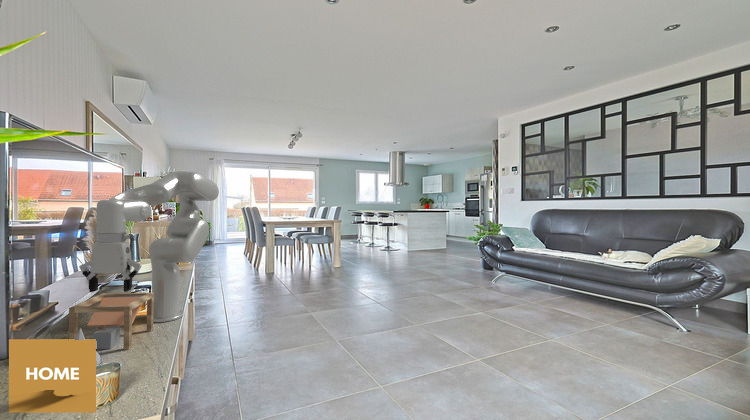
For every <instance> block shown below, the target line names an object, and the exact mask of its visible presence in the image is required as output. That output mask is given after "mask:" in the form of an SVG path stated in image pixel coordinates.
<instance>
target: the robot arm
mask: <svg viewBox="0 0 750 420" xmlns="http://www.w3.org/2000/svg"><path fill="white" fill-rule="evenodd" d="M219 194H220V190H219V187H218V185H217V184H216V182H214V181H213V180H211V179H210V178H208V177H206V176H205V175H204V174H201V173H199V172H197V171H181V170H180V171H173V172H169V173H168V174H166V175H164V176H162V177H161V178H159V179H157V180H155V181H153V182H151V183H149V184H145V185H142V186H139V187H135V188H132V189H128V190H125V191H123V192H120V193H118V194H116V195H115V196H112V197H111V198H109V199H101V200H99V201H98V202H96V227H95V228H96V232H95V233H96V235H95V236H96V237H95V238H96V239H95V241H96V242H93V243H94V244H93V246H92V250H91V255H90V260H89V261H87V262H85V263H82V264H80V265H79V269H80V272H81V273H82V275H83V276H84V277H86V280H87V281H88V290H89V293H94V292H96V291H98V290H99V278H98V275H118V274H119V275H122V276H123V278H125V279H124V280H123V293H128V292H130V291H131V290H132V287H133V278H135V276H136V275H137V274H138V273H139V271H140V270H141V268H142V264H140V263H138V262H136V261H134V260H132V258H133V257H132V251H131V247H130V242H129V241H127V240H130V238H131V235H130V234H127V232H126V231H127V222H134V223H135V222H143V221H145V220H147V219H148V218H149V217H151V214H152V207H151V206H157V205H163V204H165V203H168V202H169V201H170V200H171V199H173V198H175V197H176V196H177V197H178V200H179V209H178V210H177V212H176V214H175V215H174V217H173V219H172V220H171V222H170V223H169V225H168V226H167V228H166V235H167V237H159V238H157V239H154V240H153V241H152V242H151V243H150V245H149V247H148V248H149V249H148V253H149V259H150V263H151V293H154V309H153V323H165V322H171V321H175V320H179V319H181V318H182V317H183V316H184V314H185V312H184V311H183V310H180V305H181V301H180V296H181V293H180V291H181V290H180V287H181V286H180V283H181V270H180V268H179V266H178V263H179V264H181V263H182V264H188V263H189V264H190V263H191V262H193V261H195V260H196V259H197V257H198V256H199V253H200V252H201V250H202V249H203V247H204V244H205V243H206V241H207V240H208V238H209V234H210V226H209V223H208V221H207V220H206V219H204V218H200V217H201V210H200V208H199V206H198V204H197V203H196V202H198V201H199V202H212V201H215V200H216V199H217V198H218V197H219ZM88 267H90V270H89V268H88ZM132 267H133V268H132ZM132 269H133V270H132ZM131 270H132V271H131Z"/></svg>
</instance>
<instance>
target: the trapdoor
mask: <svg viewBox="0 0 750 420" xmlns="http://www.w3.org/2000/svg"><path fill="white" fill-rule="evenodd" d="M141 297H142V296H104V298H103V299H102V301H101V302H100V304H99V303H98V306H117V305H128V304H130V303H132V302H134V301H135V300H137V299H139V298H141ZM142 305H143V304H141V305H139V306H138V307H136V308H134V309H133V310H132V324H133V323H134V321H135V319H136V317H137V314H138V313H139V311H140V309H141V307H142ZM86 326H87V328H90V327H94V328H95V327H97V328H99V326H106V327H118V326H119V327H124V312H93V314H92V315H91V318H90V319H89V321H88V323H87V325H86Z"/></svg>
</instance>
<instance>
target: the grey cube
mask: <svg viewBox="0 0 750 420" xmlns="http://www.w3.org/2000/svg"><path fill="white" fill-rule="evenodd" d="M120 334H121V328H120V327H106V328H102V329H100V330H99V329H98V330H97V331H95V332H93V333H92V340H93V339H96V341H97V349H96V350H111V349H112V348H114V347H115V346H117V345H118V344H119V343H120V341H121V340H120V337H121V336H120Z"/></svg>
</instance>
